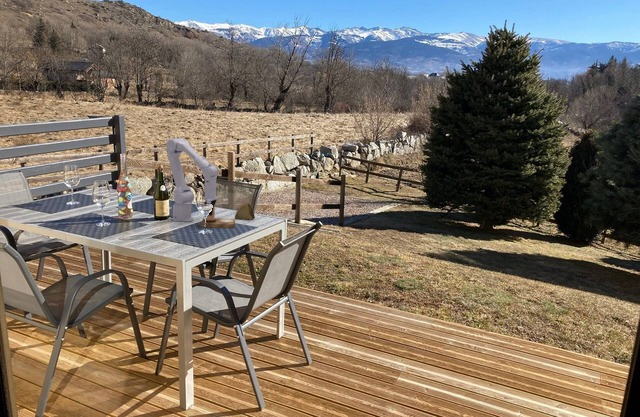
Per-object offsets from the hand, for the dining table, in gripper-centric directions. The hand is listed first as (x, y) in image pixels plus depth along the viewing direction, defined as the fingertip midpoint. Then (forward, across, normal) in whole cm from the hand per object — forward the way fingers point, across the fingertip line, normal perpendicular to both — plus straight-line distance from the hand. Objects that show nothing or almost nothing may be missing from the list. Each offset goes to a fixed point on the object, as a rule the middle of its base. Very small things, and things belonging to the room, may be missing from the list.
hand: (210, 214), depth 250 cm
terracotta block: (+3, 0, 0) cm, 3 cm away
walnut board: (+6, 0, -4) cm, 7 cm away
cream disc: (+4, 0, -9) cm, 9 cm away
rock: (+6, +15, -17) cm, 23 cm away
